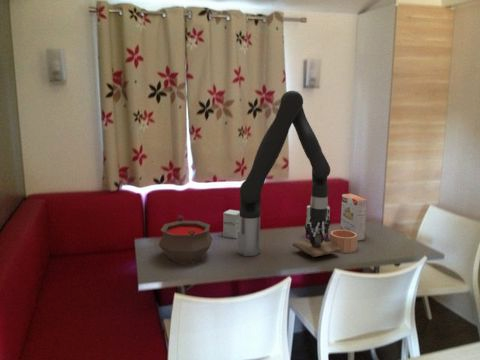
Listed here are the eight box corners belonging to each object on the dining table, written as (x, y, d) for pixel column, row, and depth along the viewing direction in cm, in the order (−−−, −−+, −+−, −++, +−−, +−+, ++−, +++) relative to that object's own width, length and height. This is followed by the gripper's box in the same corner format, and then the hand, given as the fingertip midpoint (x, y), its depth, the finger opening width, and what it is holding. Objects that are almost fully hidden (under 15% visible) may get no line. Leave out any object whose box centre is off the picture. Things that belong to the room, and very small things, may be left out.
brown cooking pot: (154, 251, 190) (153, 216, 187) (205, 245, 198) (204, 211, 195) (164, 271, 168) (163, 232, 165) (220, 263, 176) (220, 226, 173)
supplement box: (222, 236, 210) (222, 212, 208) (229, 232, 217) (229, 209, 214) (235, 239, 207) (235, 214, 204) (242, 234, 213) (242, 210, 211)
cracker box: (339, 232, 217) (341, 193, 213) (349, 231, 219) (351, 193, 215) (354, 241, 204) (356, 200, 200) (365, 240, 206) (367, 199, 202)
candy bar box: (328, 237, 210) (330, 206, 207) (327, 240, 205) (329, 208, 202) (306, 235, 213) (307, 204, 210) (305, 238, 208) (306, 206, 205)
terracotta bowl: (342, 254, 187) (343, 239, 186) (324, 246, 197) (325, 232, 196) (361, 249, 193) (362, 235, 192) (343, 242, 203) (343, 228, 202)
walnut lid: (313, 256, 177) (314, 242, 175) (292, 245, 189) (293, 231, 188) (340, 251, 184) (341, 237, 183) (317, 240, 197) (318, 227, 195)
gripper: (311, 210, 176) (309, 248, 179) (336, 206, 183) (334, 243, 187) (300, 205, 182) (298, 243, 186) (325, 202, 190) (322, 238, 193)
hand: (316, 243), depth 186 cm, fingers closed on walnut lid, 4 cm apart
